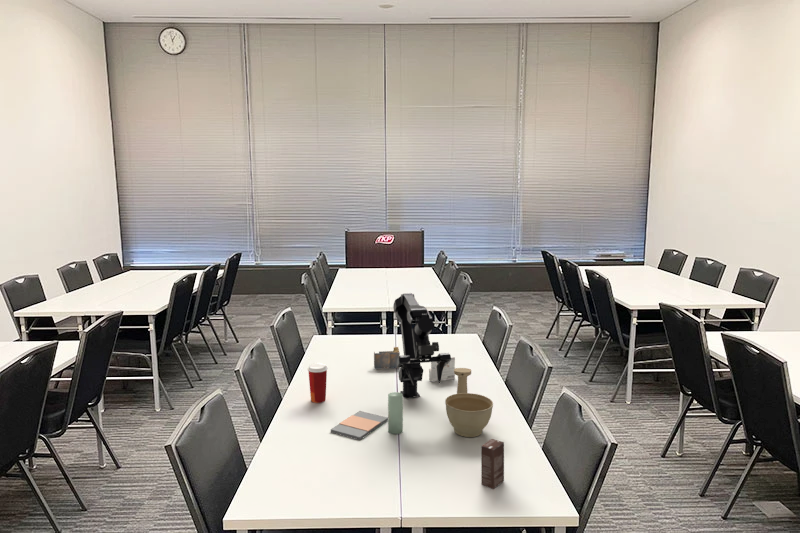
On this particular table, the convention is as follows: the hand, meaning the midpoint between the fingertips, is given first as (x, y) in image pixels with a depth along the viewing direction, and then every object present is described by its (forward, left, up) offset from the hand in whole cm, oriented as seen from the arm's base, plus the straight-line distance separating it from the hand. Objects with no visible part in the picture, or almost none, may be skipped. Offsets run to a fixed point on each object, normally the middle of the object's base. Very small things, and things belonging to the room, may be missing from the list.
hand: (426, 383), depth 206 cm
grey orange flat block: (-4, -23, -15) cm, 28 cm away
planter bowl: (+10, +12, -15) cm, 22 cm away
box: (+43, +6, -15) cm, 46 cm away
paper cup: (-31, -34, -15) cm, 49 cm away
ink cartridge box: (-40, +20, -15) cm, 47 cm away
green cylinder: (+3, -12, -15) cm, 19 cm away
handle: (-9, +17, -15) cm, 24 cm away
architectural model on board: (-61, +1, -15) cm, 63 cm away
